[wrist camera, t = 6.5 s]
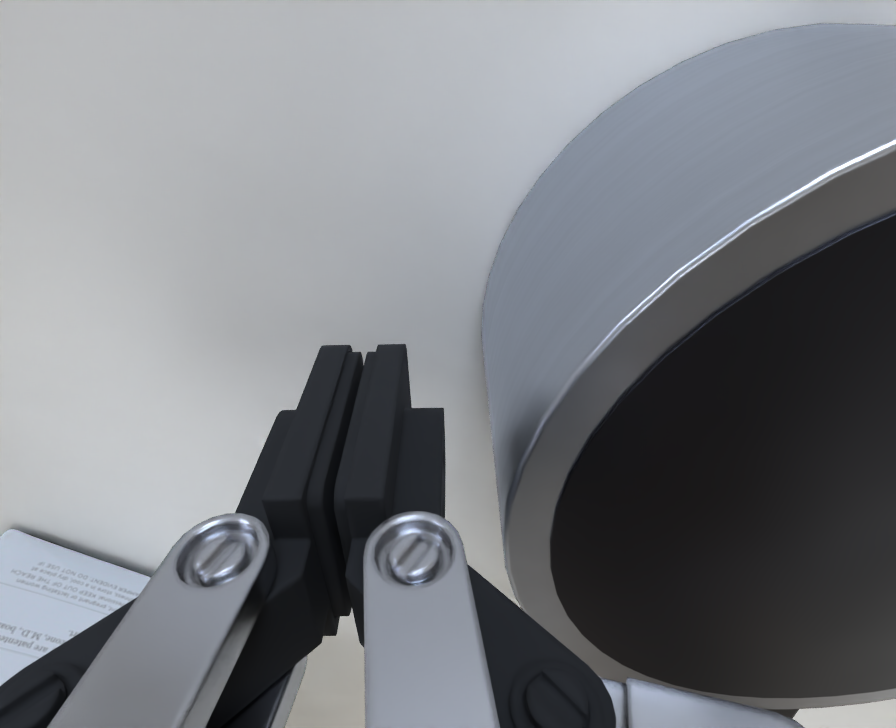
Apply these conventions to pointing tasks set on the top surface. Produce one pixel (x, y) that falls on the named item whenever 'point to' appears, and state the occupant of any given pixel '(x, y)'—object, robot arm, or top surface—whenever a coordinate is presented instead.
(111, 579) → the white product box
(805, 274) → the pot
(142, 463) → the top surface
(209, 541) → the robot arm
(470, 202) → the top surface
